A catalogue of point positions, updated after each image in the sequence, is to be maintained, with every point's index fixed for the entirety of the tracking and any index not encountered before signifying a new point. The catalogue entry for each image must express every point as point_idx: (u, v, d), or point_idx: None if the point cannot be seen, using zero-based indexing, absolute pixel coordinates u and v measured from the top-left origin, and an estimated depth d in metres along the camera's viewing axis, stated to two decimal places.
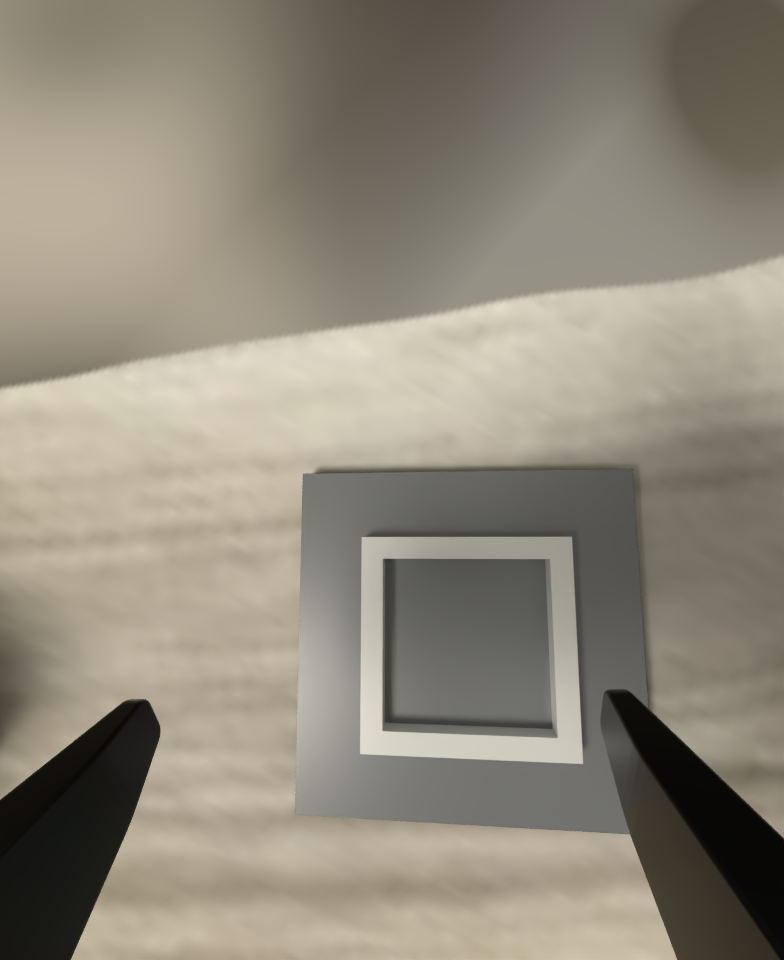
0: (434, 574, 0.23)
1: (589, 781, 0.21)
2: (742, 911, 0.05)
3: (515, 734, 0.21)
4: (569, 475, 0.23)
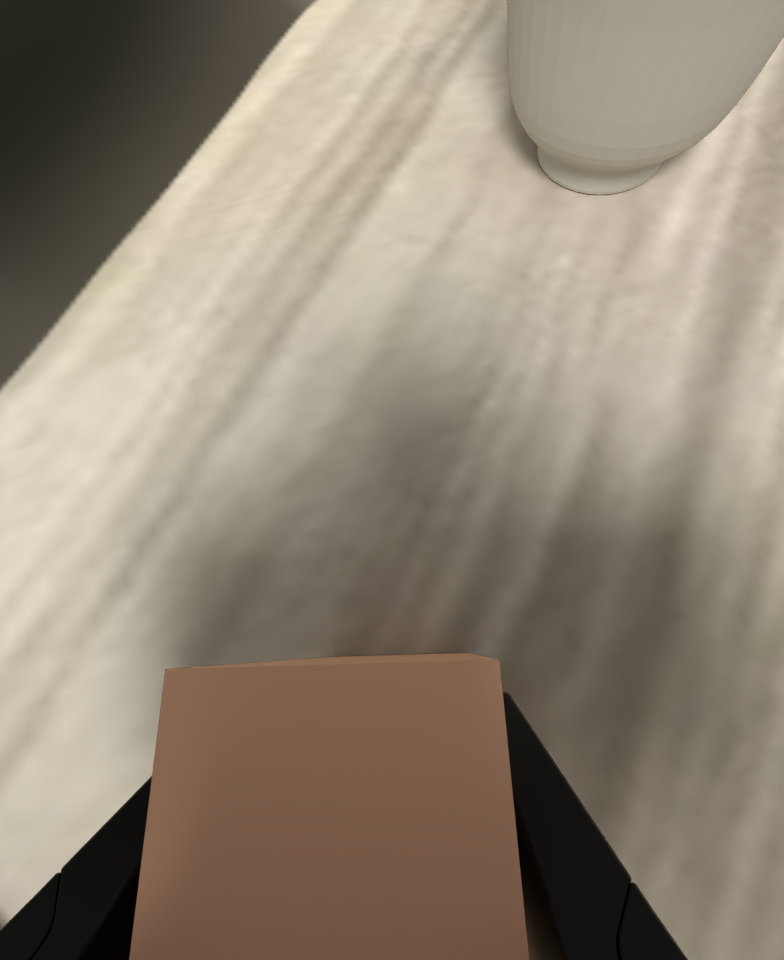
0: None
1: None
2: (545, 906, 0.05)
3: None
4: None
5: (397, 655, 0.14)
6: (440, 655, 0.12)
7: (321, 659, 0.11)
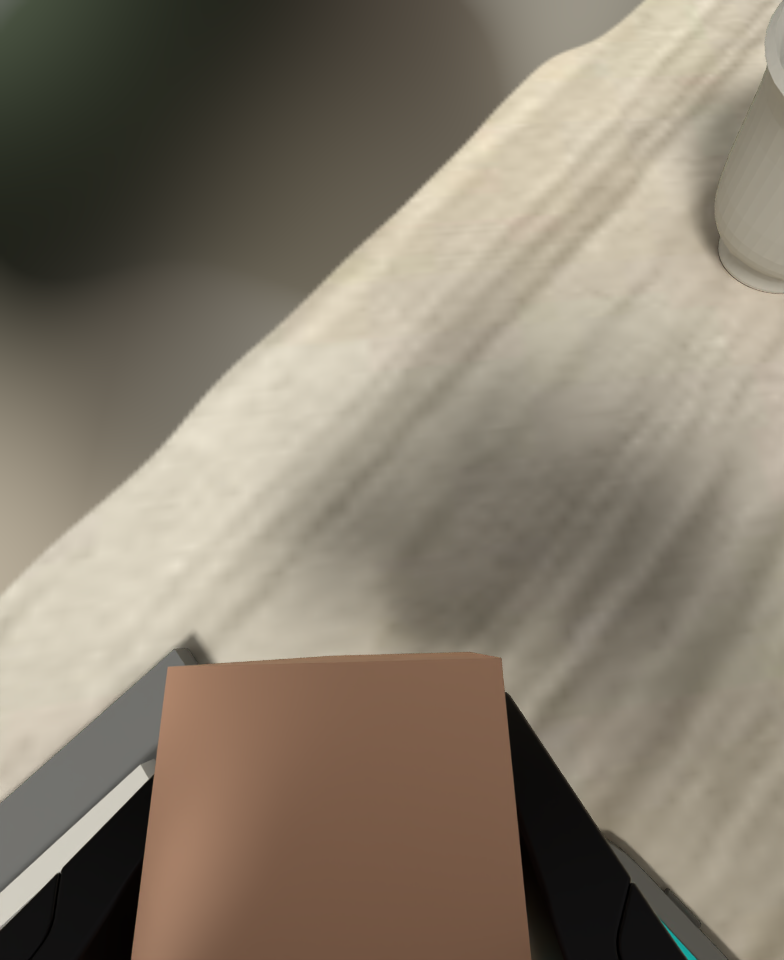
0: None
1: None
2: (545, 907, 0.05)
3: None
4: (126, 698, 0.22)
5: (398, 654, 0.14)
6: (441, 654, 0.12)
7: None
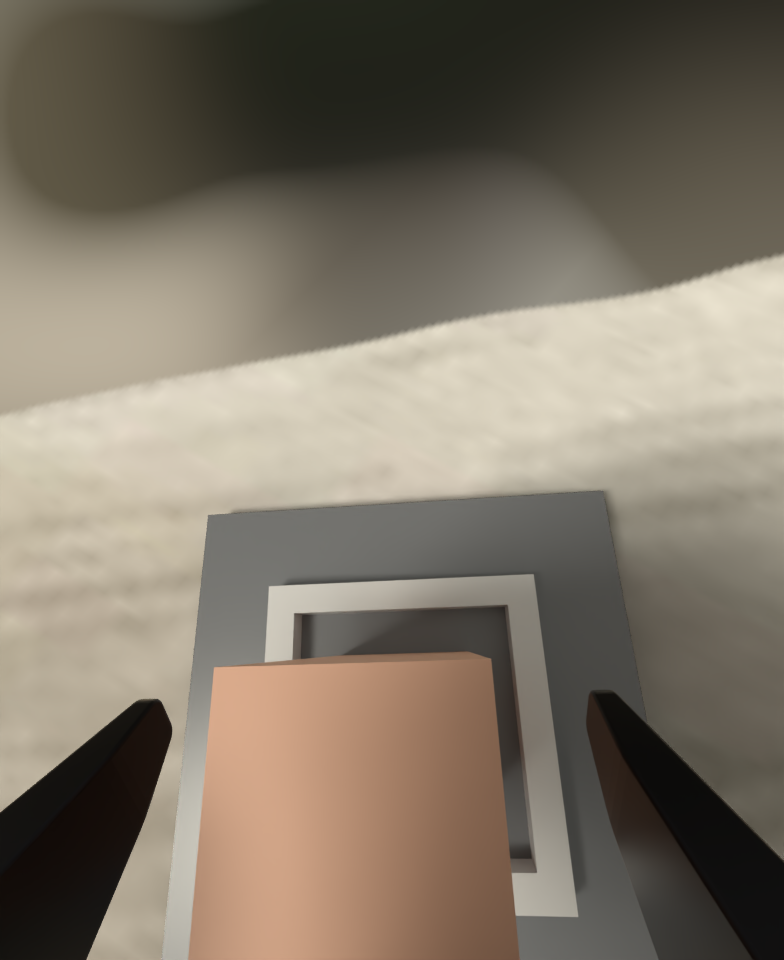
0: (364, 634, 0.17)
1: (593, 947, 0.14)
2: (717, 911, 0.05)
3: None
4: (527, 502, 0.18)
5: None
6: None
7: None
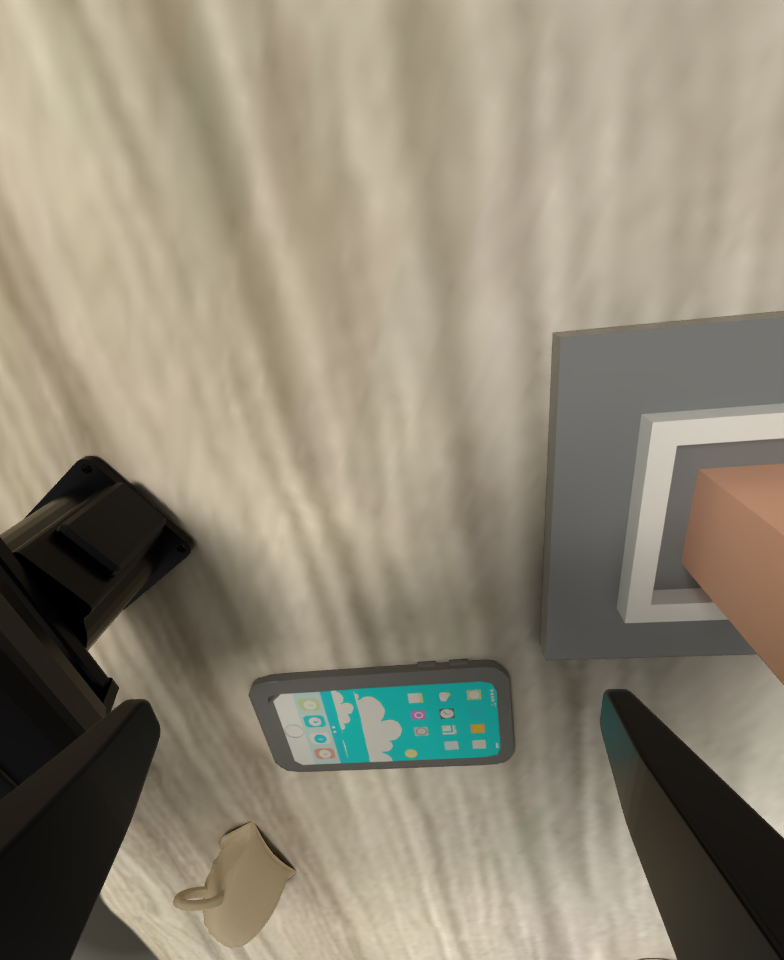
0: None
1: (591, 617, 0.23)
2: (742, 911, 0.05)
3: None
4: None
5: None
6: None
7: None
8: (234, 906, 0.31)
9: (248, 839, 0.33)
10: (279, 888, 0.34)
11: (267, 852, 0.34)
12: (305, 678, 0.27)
